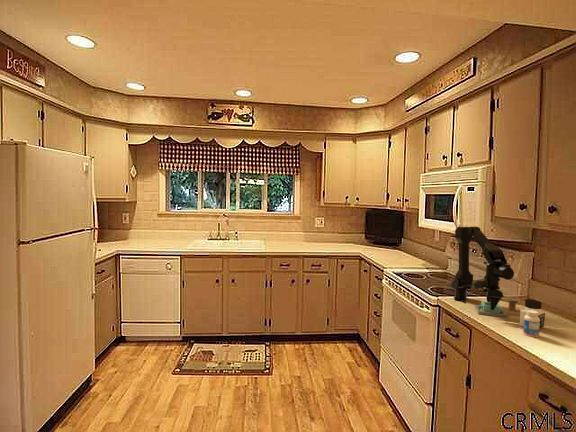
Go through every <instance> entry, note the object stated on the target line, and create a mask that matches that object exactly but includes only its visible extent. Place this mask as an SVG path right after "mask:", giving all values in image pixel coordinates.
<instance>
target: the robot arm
mask: <svg viewBox="0 0 576 432" xmlns="http://www.w3.org/2000/svg"><path fill="white" fill-rule="evenodd" d="M454 235H455V239H456V241H457V243H458V270H457V271H456V273H455V278H454V280H452V282H451V283H450V286H451V288H452V289H454V290H455V291H454V295H453V300H454V301H460V302H461V301H462V302H466V300H467V295H468V294H467V293H468V290H471V289H472V287H473V288H474V290H478V289H482V290H483V292H484V293H485V297H486V302H490V305H491V310H494V309H495V307H496V305H497V304H499V303H500V301H501V299H502V298H504V293H503V291H502V290H500V281H501V279H504V280H505V281H506V280H507V281H509V280H512V279H513V278H514V276H515V272H514V269H513V268H511V264H509V263H508V259H506V256H505V254H504V252H503V250H502V249H501V248H500V247H499V246H497V245H495V244H493V243H492V242H491V241H490V240H489V239H488V237H487V236H486V235H485V233H484V232H483V231H482V230H481V228H480V227H479V226H458V227H456V229H455V230H454ZM473 239H474V240H475V242H476V243H477V244H478V245H479V247H480V248H481V250H482V255H483V257H484V259H485V261H484V262H483V264H484V265H485V275H484V276H483V278H479V279H475V280H474V274H473V273H471V271H470V243H471V241H472V240H473Z"/></svg>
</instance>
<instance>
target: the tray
mask: <svg viewBox="0 0 576 432" xmlns="http://www.w3.org/2000/svg"><path fill="white" fill-rule="evenodd" d="M479 305H480V304H474V308H475V310H476V313H477V315H481V316H490V317H496V318H497V317H499V318H506V319H507V318H508V313H507V311H504V310H503V308H502V307H501V308H500V314H499V313H491V312H482V310H481V308H479Z"/></svg>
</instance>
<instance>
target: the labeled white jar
mask: <svg viewBox="0 0 576 432" xmlns="http://www.w3.org/2000/svg"><path fill="white" fill-rule="evenodd" d="M542 305H543V302H542V301H541V300H539V299H536V298H526V299H525V301H524V308H523V309H520V310H521V311H520V313H519V326H520V327H523V328H524V317H525V316H526V315H527V310H533V311H537V312H538V316H537V317H539V318H540V327H539V331H540V330H541V329H543V328H545V323H546V322H545V319H546V311H544V310H542Z"/></svg>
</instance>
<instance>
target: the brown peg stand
mask: <svg viewBox="0 0 576 432" xmlns="http://www.w3.org/2000/svg"><path fill="white" fill-rule="evenodd" d="M518 302H519V301H518V300H514V299H508V306H500V307H501V308H503V310H504V311H505V312H510V313H511V312H512V313H519V314H520V311H521V310H522V309H520V308H519V307H516V306H517V304H518Z"/></svg>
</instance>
